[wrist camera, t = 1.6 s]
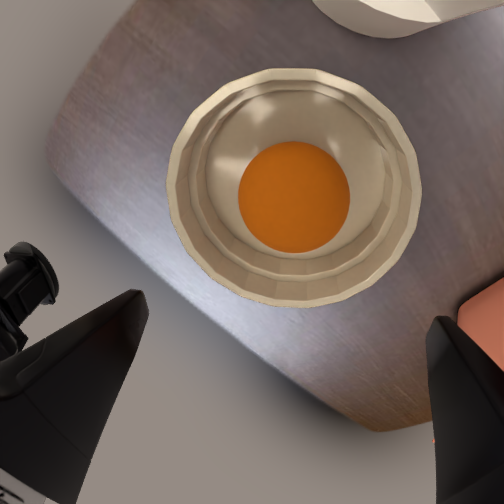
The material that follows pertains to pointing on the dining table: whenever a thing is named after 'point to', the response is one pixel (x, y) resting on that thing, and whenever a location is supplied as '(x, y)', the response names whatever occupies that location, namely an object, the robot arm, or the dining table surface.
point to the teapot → (486, 321)
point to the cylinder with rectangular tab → (399, 14)
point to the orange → (294, 197)
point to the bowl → (300, 130)
